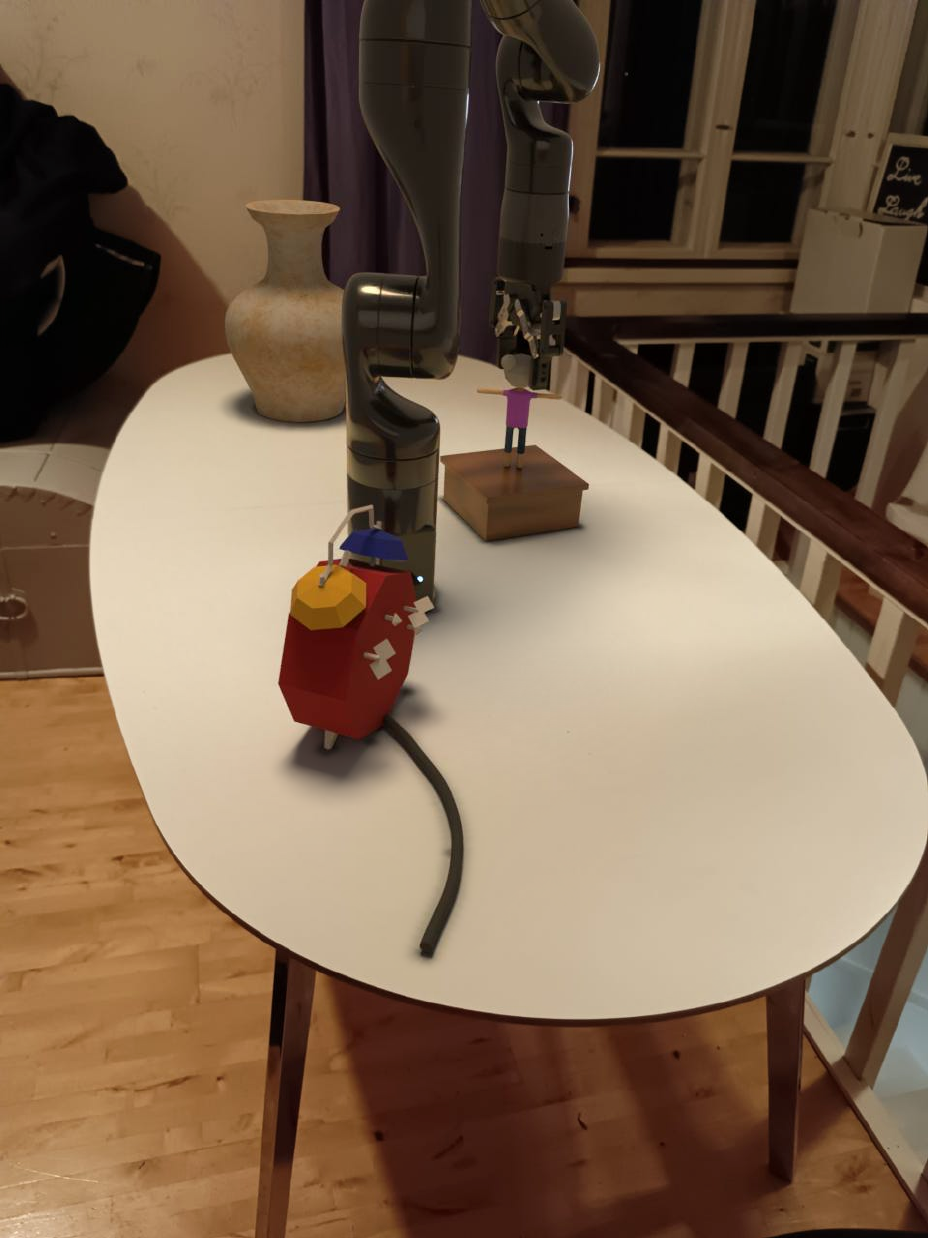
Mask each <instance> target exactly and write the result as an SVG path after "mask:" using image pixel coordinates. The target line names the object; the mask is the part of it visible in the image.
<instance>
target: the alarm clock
mask: <svg viewBox="0 0 928 1238" xmlns="http://www.w3.org/2000/svg"><path fill="white" fill-rule="evenodd" d="M368 510H369V526H370V528H371V529H369V530H357V531H352V532H351V534H350V535H349V536H348V537H347V536H346V538H345V539H344V541H343V542H342V543H341V545H340V546H339V548H338V550H341V551H343V554H342V557H341V558H337V559H335V558H334V544H335V542H336V540H338V538H339V536H340V535H341V533H342V531H343V530H344V529H345V527H347V523H348V521H349V520H350V518H351V517H352V515H353V514H357V513H361V512H365V511H368ZM381 524H382V522H380V521H377V525H374V508H373V505H368V506H364V507H361V508H357V509H353V510H351V511H350V512H349V513H348V514H347V513H346V515H345V517H344V518H343V521H341V523H340V524H339V526H338V527H337V529H336V531H335V532H334V534H333V535H332V536H331V538H330V539H329V541H328V542H327V546H328V547H327V559H326V560H319V561H318V562H317V564H316V566H313V568H311V569H310V570H309V571H308V572H307V573H305V574H304V575H302V576H301V577H300V578H298V580H297V581H296V583H295V584H294V586H293V587H292V589H291V596H290V608H289V612H288V615H287V616H288V617H287V622H286V630H285V636H284V641H283V649H282V656H281V661H280V662H281V663H280V668H279V676H278V682H277V685H278V687H279V690H280V692H281V694H282V696H283V699H284V701H285V703H286V707H287V708H288V710H289V713H290V716H291V718H292V720H293V723H299V724H302V725H306V726H307V727H308V726H309V727H312V728H316V729H320V730H324V744H323V745H324V746H323V747H324V749H326V750H332V748H333V746H334V745H335V743H336V740H337V738H338V736H339V735H341V736H345V737H348V738H351V739H356V740H360V739H363V738H364V737H365V736H368V735H370V733H373V732H374V731H376V730H377V729H379V728H381V727H383V726H385V724H384V723H383V718H384V715H385V714H386V713H388V714H389V715H390V714H391V711H392V710H393V707H394V705H395V703H396V700H397V698H398V697H399V694H400V692H401V690H402V687H404V686H403V685H404V684H405V681H406V679H407V677H408V675H409V670H410V665H411V659H412V654H413V649H414V648H413V647H414V643H415V636H416V635H418V634H420V633H421V632H423V631H424V629H423V628H422V627H421V626H422V625H424V624H426V623H428V622H429V621H430V620H429V618H428V617H427V615H426V612H429V611H431V610H430V609H432V610H434V608H435V606H434V603H433V604H432V602H431V601H430V599H429V597H428V596H426V597H424V598H422V599H420V600H418V601H416V596H415V591H414V586H413V581H412V576H411V572H408V571H404V570H399V569H395V568H390V567H386V566H381V565H377V564H375V560H376V558H380V559H386V560H400V561H409V559H408V556H407V553H406V551H405V548H404V545H403V543H402V540H401V539H400V538H398V537H395V536H393V535H391V534H389V533H387V532H384V531H382V529H381ZM351 553H354V554H358V555H363V556H368V557H371V561H370V563H368V562H363V561H359V560H354V559H350V555H351Z"/></svg>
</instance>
